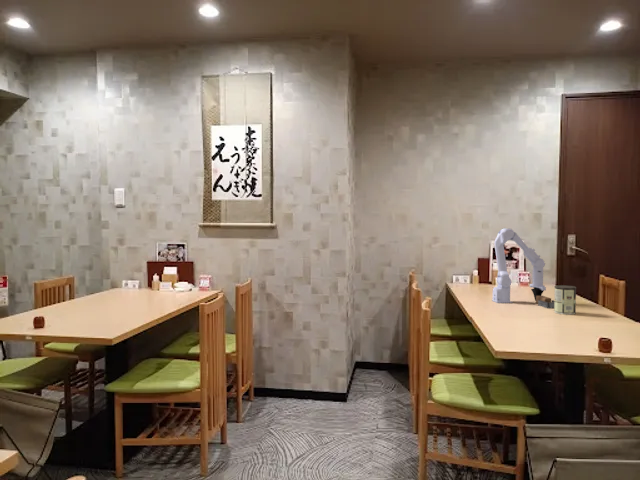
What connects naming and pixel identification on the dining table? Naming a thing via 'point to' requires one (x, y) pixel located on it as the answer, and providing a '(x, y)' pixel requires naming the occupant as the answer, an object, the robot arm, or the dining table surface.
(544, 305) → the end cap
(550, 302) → the brown rectangular block
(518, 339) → the dining table surface
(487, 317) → the dining table surface
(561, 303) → the coffee can
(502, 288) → the robot arm
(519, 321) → the dining table surface
